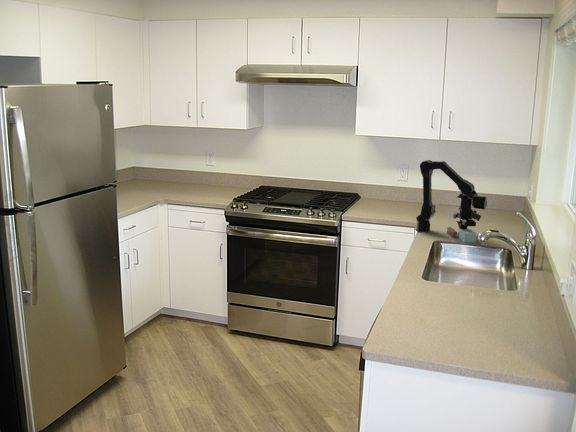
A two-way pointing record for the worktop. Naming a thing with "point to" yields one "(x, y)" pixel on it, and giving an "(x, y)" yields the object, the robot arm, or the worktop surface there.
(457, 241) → the pad
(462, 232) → the block
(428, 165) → the robot arm
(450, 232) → the chute
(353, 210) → the worktop surface
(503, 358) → the worktop surface
